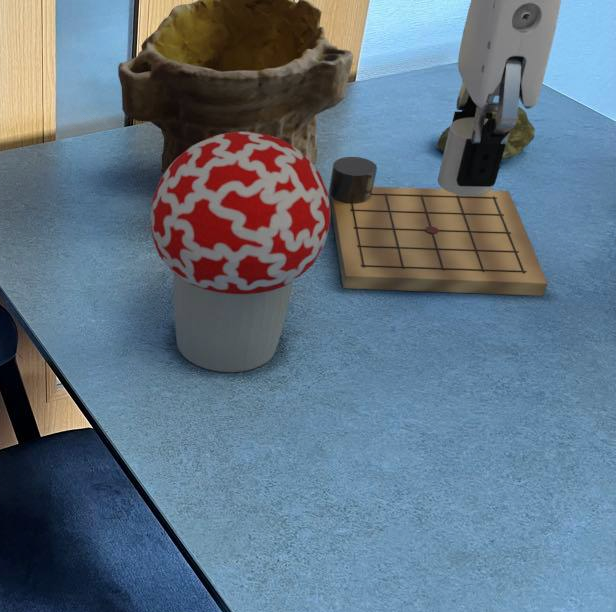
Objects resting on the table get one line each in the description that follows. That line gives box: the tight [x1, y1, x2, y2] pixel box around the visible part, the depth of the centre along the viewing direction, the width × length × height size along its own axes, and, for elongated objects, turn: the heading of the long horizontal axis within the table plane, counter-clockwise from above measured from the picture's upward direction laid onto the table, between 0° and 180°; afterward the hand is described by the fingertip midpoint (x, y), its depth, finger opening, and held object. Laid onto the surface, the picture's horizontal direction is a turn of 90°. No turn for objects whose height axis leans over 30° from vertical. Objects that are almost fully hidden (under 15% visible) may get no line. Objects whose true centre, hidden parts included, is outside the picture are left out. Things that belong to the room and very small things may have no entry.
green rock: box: [436, 106, 536, 161], centre depth 127 cm, size 10×7×10 cm
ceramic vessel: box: [117, 0, 354, 175], centre depth 113 cm, size 23×24×25 cm
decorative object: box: [149, 132, 331, 373], centre depth 92 cm, size 16×16×20 cm
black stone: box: [328, 156, 378, 203], centre depth 116 cm, size 5×5×3 cm
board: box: [328, 186, 548, 297], centre depth 112 cm, size 20×20×2 cm
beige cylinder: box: [437, 117, 494, 196], centre depth 91 cm, size 5×5×5 cm
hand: (469, 168), depth 92 cm, fingers closed on beige cylinder, 4 cm apart
